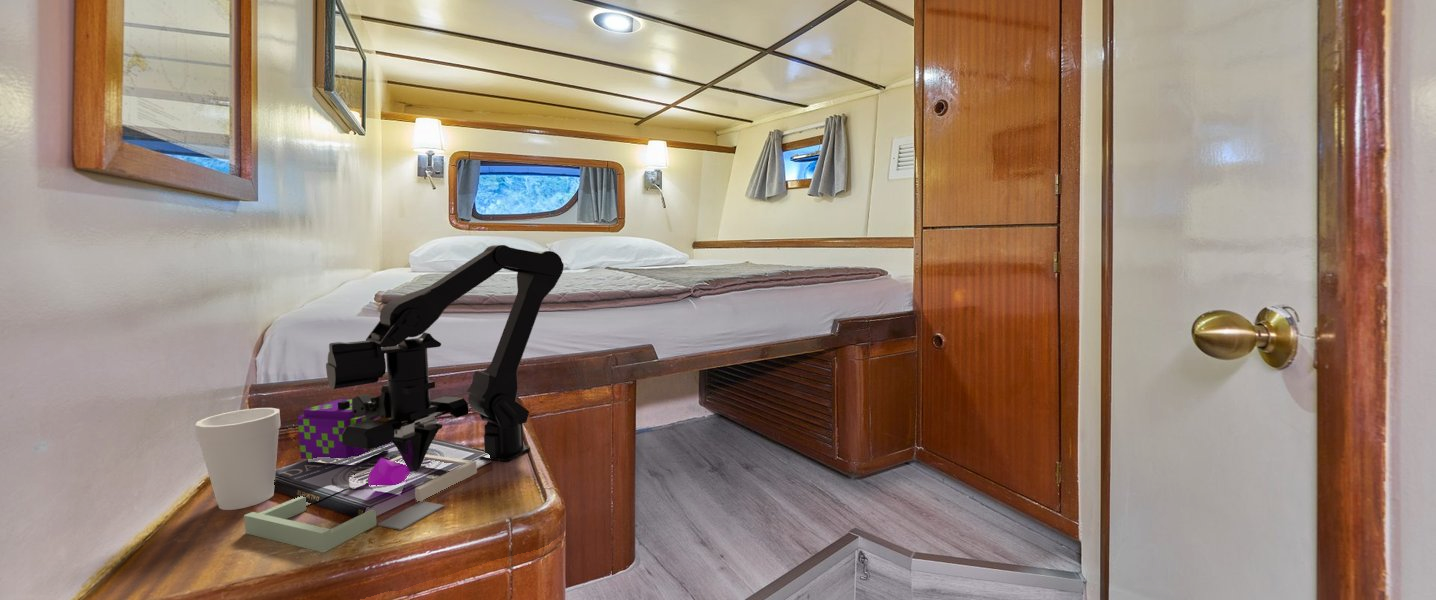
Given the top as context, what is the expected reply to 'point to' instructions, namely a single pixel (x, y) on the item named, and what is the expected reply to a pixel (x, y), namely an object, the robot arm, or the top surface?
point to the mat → (410, 515)
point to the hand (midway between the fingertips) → (414, 471)
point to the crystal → (387, 473)
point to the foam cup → (240, 455)
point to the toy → (329, 430)
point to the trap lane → (324, 539)
